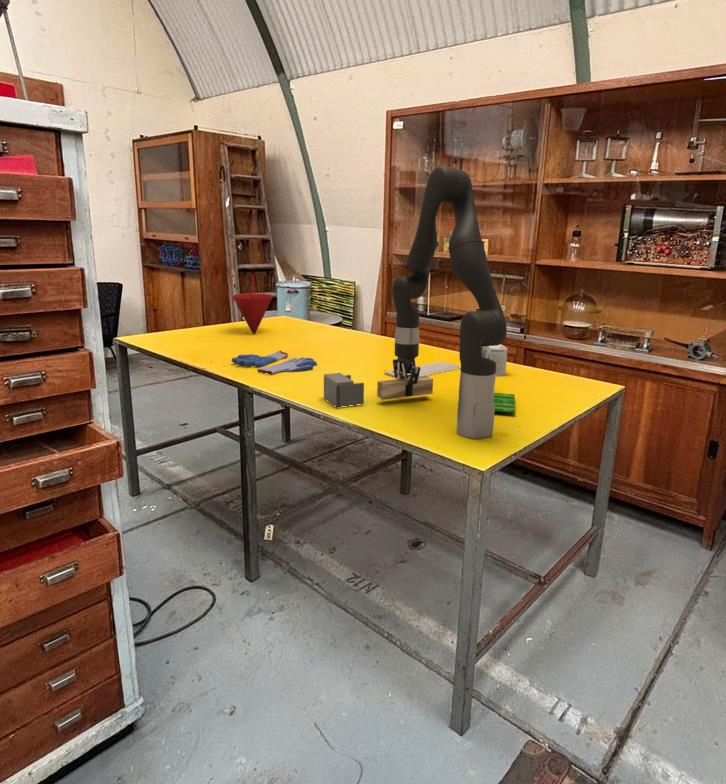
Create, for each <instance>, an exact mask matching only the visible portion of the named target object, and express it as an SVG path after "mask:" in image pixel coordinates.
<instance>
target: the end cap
mask: <svg viewBox="0 0 726 784" xmlns="http://www.w3.org/2000/svg"><path fill="white" fill-rule="evenodd" d="M364 393H365V383H364V382H356V383H355V381H354V380H352V375H351V374H342V373H341V372H334V373H325V374H324V373H323V399H324V398H325V399H326V400H325V399H324V400H325V401H327V400H328V401H329V402H330V403H329V402H328V401H327V402H328V403H329V404H331V403H332V404H333V405H335V406H336V407H341V406H349V405H357V404H365V402H364V401H365V400H364V398H365V397H364V396H365V394H364ZM332 404H331V405H332ZM333 405H332V406H333ZM335 406H334V407H335ZM336 407H335V408H336Z"/></svg>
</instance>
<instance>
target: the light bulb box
mask: <svg viewBox="0 0 726 784" xmlns="http://www.w3.org/2000/svg"><path fill="white" fill-rule="evenodd" d="M508 349H509V348H507V347H506V346H505V345H503V344H500V345H495V346H483V347H482V349H481V353H482V356H483V357H485V358H488V359H491V360H493V361H495V363H496V377H505V376H506V368H507V360H508Z"/></svg>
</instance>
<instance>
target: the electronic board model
mask: <svg viewBox="0 0 726 784" xmlns="http://www.w3.org/2000/svg"><path fill="white" fill-rule="evenodd" d="M515 401H516V399H515V394H512V393H503V392H502V393H501V392H494V399H493V402H495V412H498V413H505V414H506V413H507V414H516V402H515Z"/></svg>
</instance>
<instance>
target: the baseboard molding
mask: <svg viewBox="0 0 726 784" xmlns="http://www.w3.org/2000/svg"><path fill="white" fill-rule="evenodd" d="M416 367H420V373H419V377H422V376H427V375H429V376H432V374H434V375H437V374H436V373H438V374H442V373H441V372H443V373H447V371H448V372H453V371H456V370H457V369H458V370H461V366H460V365H457V364H452V363H449V362H446V361H442V360H441V361H437V362H432V363H427V364H421V365H416ZM452 370H453V371H452ZM384 375H385V376H388V377H391V378H394V379H396V378H395V376H394V369H393V370H386V369H384ZM407 375H410V374H407ZM409 378H410V377H409Z"/></svg>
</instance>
